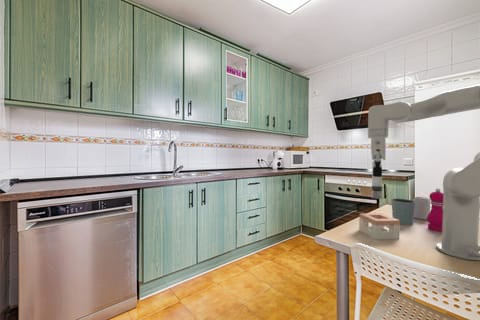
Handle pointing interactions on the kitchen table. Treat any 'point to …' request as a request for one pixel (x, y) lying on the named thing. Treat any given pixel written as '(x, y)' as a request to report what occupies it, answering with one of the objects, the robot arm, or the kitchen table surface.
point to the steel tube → (376, 185)
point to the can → (421, 208)
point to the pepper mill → (436, 211)
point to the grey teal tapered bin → (403, 210)
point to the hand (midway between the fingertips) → (377, 175)
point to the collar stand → (379, 226)
